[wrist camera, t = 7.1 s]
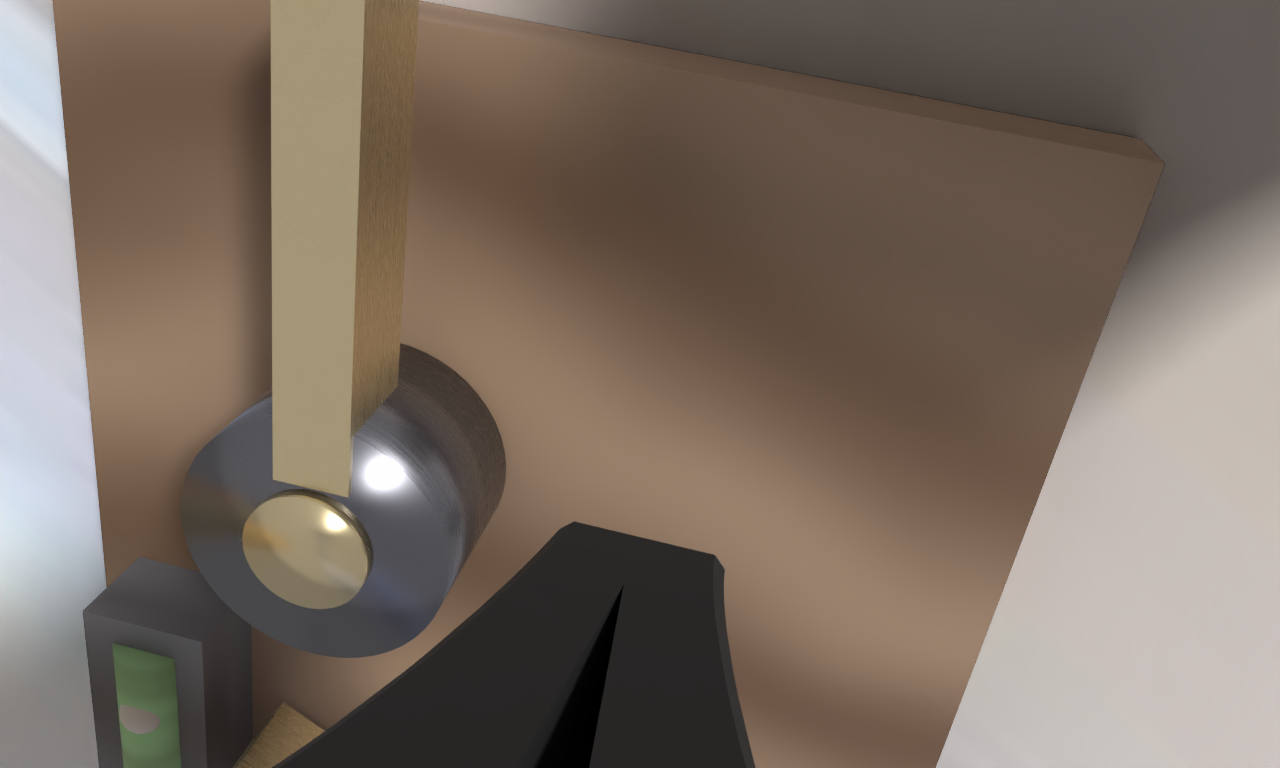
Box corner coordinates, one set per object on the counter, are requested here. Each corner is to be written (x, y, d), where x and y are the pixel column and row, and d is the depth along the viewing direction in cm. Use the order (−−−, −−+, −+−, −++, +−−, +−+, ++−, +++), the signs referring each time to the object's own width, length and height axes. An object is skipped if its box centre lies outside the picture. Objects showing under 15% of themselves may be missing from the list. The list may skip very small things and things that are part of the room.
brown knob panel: (826, 998, 26) (820, 1170, 23) (167, 816, 28) (69, 950, 24) (1141, 139, 17) (1211, 212, 13) (107, -60, 18) (-68, -40, 15)
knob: (495, 577, 20) (431, 698, 17) (273, 523, 21) (175, 632, 18) (563, -39, 15) (492, -14, 12) (270, -93, 16) (135, -82, 13)
